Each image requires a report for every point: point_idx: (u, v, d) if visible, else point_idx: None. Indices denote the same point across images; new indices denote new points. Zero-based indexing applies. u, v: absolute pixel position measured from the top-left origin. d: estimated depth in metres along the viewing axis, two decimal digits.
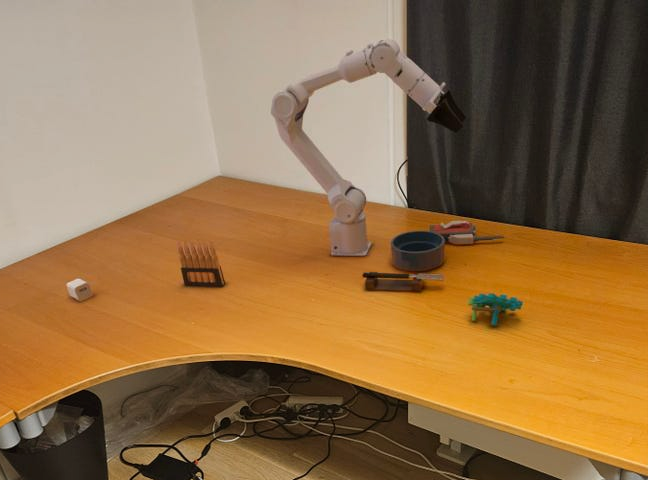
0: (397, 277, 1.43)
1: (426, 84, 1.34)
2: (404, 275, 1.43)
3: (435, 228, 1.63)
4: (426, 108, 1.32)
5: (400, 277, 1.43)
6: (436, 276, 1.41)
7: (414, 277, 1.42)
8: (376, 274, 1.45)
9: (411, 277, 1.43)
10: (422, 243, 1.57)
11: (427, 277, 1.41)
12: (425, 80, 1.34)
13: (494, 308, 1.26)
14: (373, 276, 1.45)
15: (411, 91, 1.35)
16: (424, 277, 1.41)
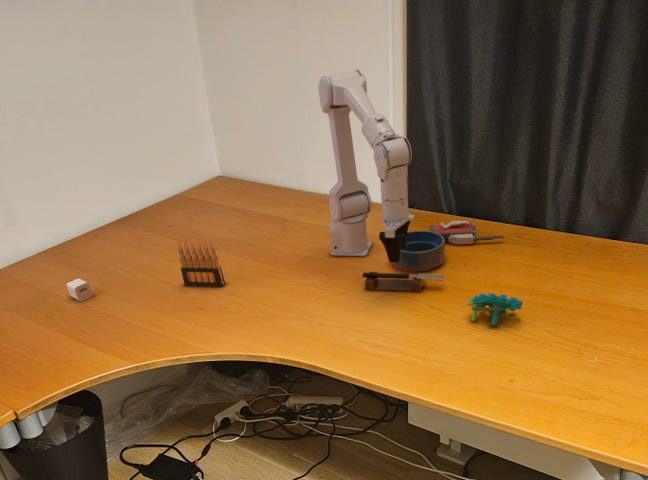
0: (397, 277, 1.43)
1: (401, 208, 1.32)
2: (404, 275, 1.43)
3: (435, 228, 1.63)
4: (386, 231, 1.30)
5: (400, 277, 1.43)
6: (436, 276, 1.41)
7: (414, 277, 1.42)
8: (376, 274, 1.45)
9: (411, 277, 1.43)
10: (422, 243, 1.57)
11: (427, 277, 1.41)
12: (403, 204, 1.32)
13: (494, 308, 1.26)
14: (373, 276, 1.45)
15: (386, 201, 1.31)
16: (424, 277, 1.41)
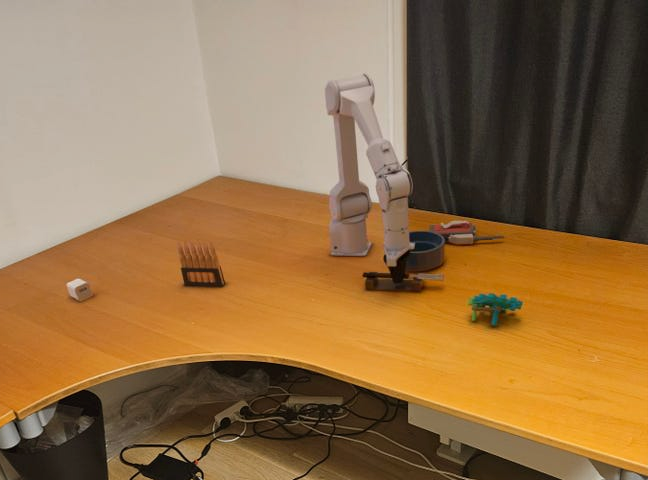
0: None
1: (402, 237, 1.36)
2: (404, 275, 1.43)
3: (435, 228, 1.63)
4: (388, 260, 1.34)
5: None
6: (436, 276, 1.41)
7: (414, 277, 1.42)
8: (376, 274, 1.45)
9: (411, 277, 1.43)
10: (422, 243, 1.57)
11: (427, 277, 1.41)
12: (404, 234, 1.35)
13: (494, 308, 1.26)
14: (373, 276, 1.45)
15: (388, 231, 1.35)
16: (424, 277, 1.41)
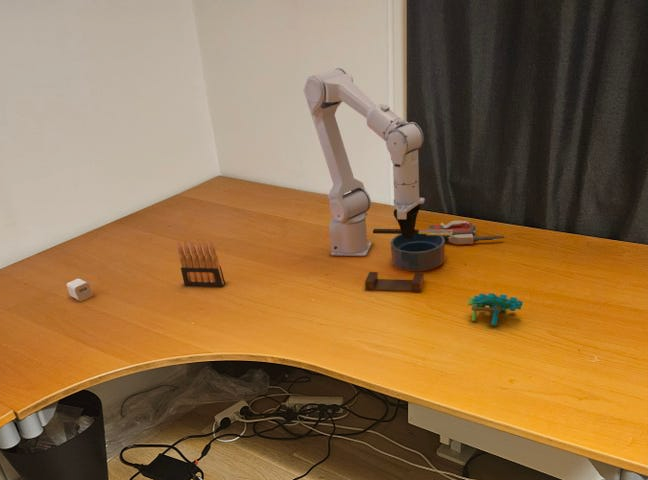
0: None
1: (412, 191, 1.39)
2: (414, 230, 1.46)
3: (435, 228, 1.63)
4: (398, 213, 1.37)
5: None
6: (445, 231, 1.44)
7: (424, 232, 1.45)
8: (386, 230, 1.48)
9: (421, 232, 1.46)
10: (422, 243, 1.57)
11: (436, 232, 1.44)
12: (414, 188, 1.38)
13: (494, 308, 1.26)
14: (383, 232, 1.48)
15: (398, 185, 1.38)
16: (433, 232, 1.44)
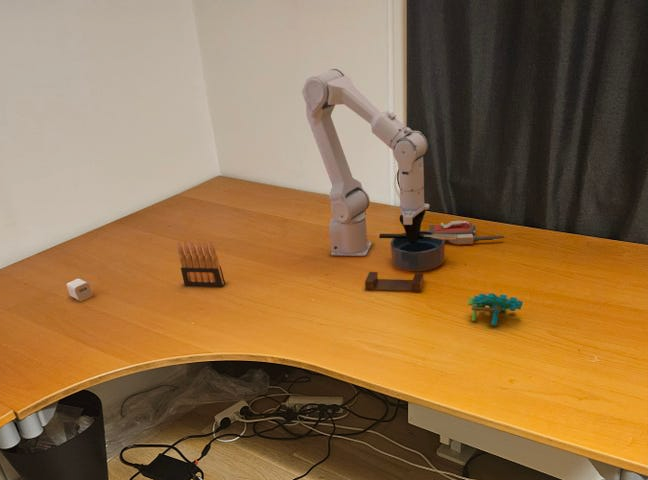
0: None
1: (418, 198, 1.43)
2: (419, 235, 1.51)
3: (435, 228, 1.63)
4: (404, 219, 1.42)
5: None
6: (449, 236, 1.49)
7: (428, 237, 1.50)
8: (392, 235, 1.53)
9: (426, 237, 1.50)
10: (422, 243, 1.57)
11: (441, 237, 1.49)
12: (420, 194, 1.43)
13: (494, 308, 1.26)
14: (389, 237, 1.53)
15: (404, 192, 1.43)
16: (438, 237, 1.49)
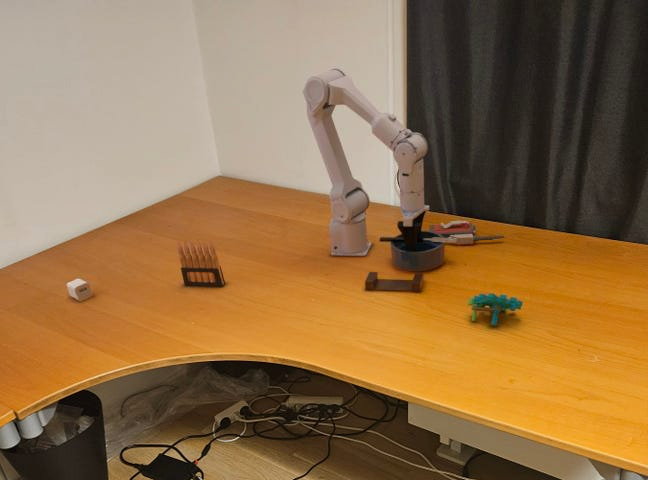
0: None
1: (418, 199, 1.44)
2: (419, 239, 1.51)
3: (435, 228, 1.63)
4: (404, 220, 1.42)
5: None
6: (449, 239, 1.50)
7: (429, 240, 1.51)
8: (392, 238, 1.53)
9: (426, 240, 1.51)
10: (422, 243, 1.57)
11: (441, 240, 1.50)
12: (420, 196, 1.44)
13: (494, 308, 1.26)
14: (390, 240, 1.53)
15: (404, 193, 1.43)
16: (438, 240, 1.50)
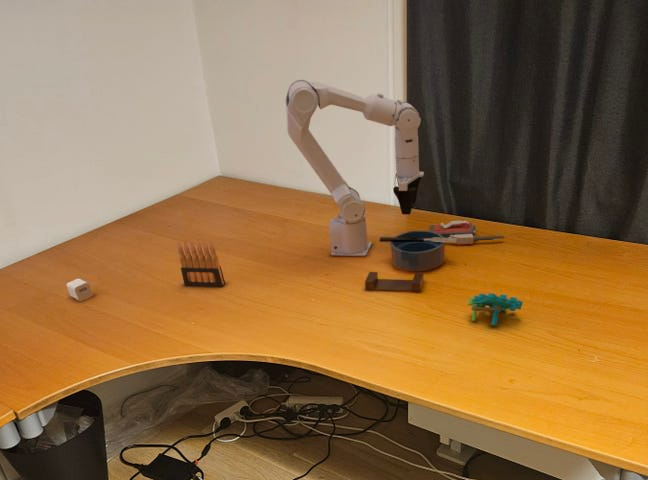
0: (412, 241, 1.52)
1: (413, 165, 1.51)
2: (419, 239, 1.51)
3: (435, 228, 1.63)
4: (400, 185, 1.50)
5: (415, 241, 1.51)
6: (449, 239, 1.50)
7: (429, 240, 1.51)
8: (392, 238, 1.53)
9: (426, 240, 1.51)
10: (422, 243, 1.57)
11: (441, 240, 1.50)
12: (414, 162, 1.51)
13: (494, 308, 1.26)
14: (390, 240, 1.53)
15: (400, 159, 1.51)
16: (438, 240, 1.50)
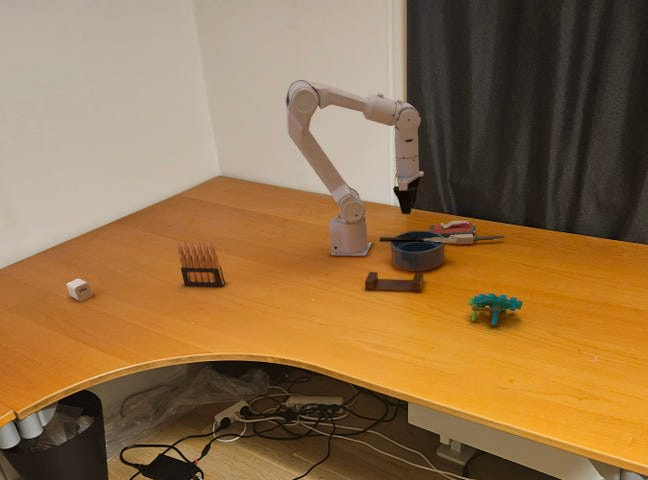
0: (412, 241, 1.52)
1: (413, 165, 1.52)
2: (419, 239, 1.51)
3: (435, 228, 1.63)
4: (400, 185, 1.50)
5: (415, 241, 1.51)
6: (449, 239, 1.50)
7: (429, 240, 1.51)
8: (392, 238, 1.53)
9: (426, 240, 1.51)
10: (422, 243, 1.57)
11: (441, 240, 1.50)
12: (414, 161, 1.51)
13: (494, 308, 1.26)
14: (390, 240, 1.53)
15: (400, 159, 1.51)
16: (438, 240, 1.50)
